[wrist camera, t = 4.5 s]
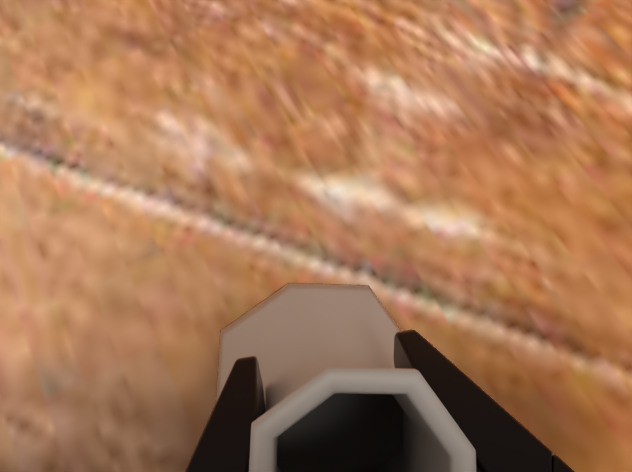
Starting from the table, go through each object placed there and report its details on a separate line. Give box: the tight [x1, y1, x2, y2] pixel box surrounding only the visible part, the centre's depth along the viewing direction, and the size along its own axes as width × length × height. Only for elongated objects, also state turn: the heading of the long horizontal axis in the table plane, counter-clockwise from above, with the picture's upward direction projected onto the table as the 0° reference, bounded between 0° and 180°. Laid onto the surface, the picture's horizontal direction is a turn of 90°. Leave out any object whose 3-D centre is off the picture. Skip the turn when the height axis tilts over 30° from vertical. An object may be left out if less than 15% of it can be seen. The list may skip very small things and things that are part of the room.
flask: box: [216, 283, 476, 472], centre depth 11 cm, size 7×7×10 cm
